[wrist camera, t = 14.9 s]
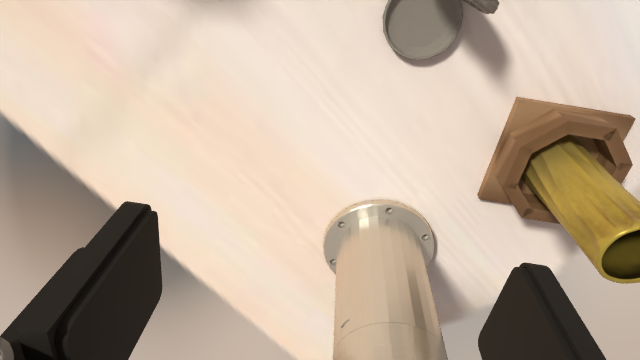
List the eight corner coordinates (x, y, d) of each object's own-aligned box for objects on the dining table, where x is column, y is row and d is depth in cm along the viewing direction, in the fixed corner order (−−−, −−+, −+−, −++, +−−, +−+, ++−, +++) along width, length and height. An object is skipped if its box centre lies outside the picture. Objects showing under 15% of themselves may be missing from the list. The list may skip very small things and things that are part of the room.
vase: (577, 123, 39) (684, 207, 27) (588, 175, 41) (690, 273, 29) (511, 148, 41) (583, 238, 28) (526, 196, 43) (597, 298, 31)
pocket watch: (381, 58, 38) (391, 92, 29) (384, -47, 34) (396, -43, 25) (472, 55, 37) (510, 89, 28) (487, -52, 33) (537, -50, 24)
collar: (577, 210, 45) (595, 231, 41) (477, 194, 44) (487, 215, 41) (630, 115, 39) (656, 131, 36) (516, 97, 39) (532, 111, 35)
